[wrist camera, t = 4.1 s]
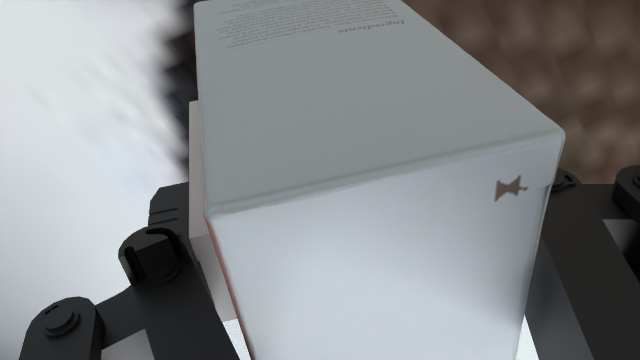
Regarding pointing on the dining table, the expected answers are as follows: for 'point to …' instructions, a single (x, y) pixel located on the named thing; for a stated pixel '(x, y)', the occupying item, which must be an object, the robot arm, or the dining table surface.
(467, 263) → the small box
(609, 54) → the dining table surface
